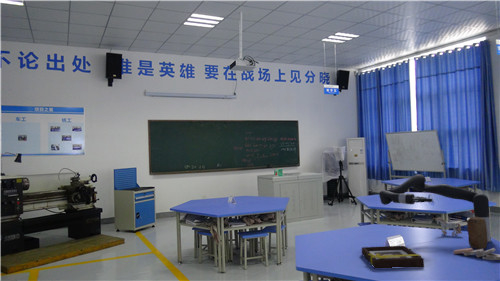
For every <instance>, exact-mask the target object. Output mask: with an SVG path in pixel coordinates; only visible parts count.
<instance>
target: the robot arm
mask: <svg viewBox="0 0 500 281" xmlns="http://www.w3.org/2000/svg"><path fill="white" fill-rule="evenodd" d="M411 188H412V189H414V190H416V191H422V192H427V193H431V194H434V195H438V196H443V197H445V198H449V199H452V200H462V201H466V202H470V203H472V205H473V217H480V218H483V219H485V221H486V228H487V240H488V241H487V242H488V243H490V242H492V233H491V220H490V219H491V218H490V215H491V214H490V204H489V203H490V201H489V198H488V196H487V195H486V194H484V193H483V192H482V193H481V192H475V191H472V190H471V191H470V190H466V189H463V188H460V187H457V186H454V185H450V184H447V183H441V184H428V183H426V177H425V176H424V175H423V174H419V173H418V174H415V175H413V176H412V177H410V178H408V179H407V180H406V181H404V182H402V183H401V184H400V185H397V186H395V187H394V188H393V187H392V188H391V189H389V190H381V191H379V193H378V196H379V199H380V202H381V204H382V205H384V206H385V205H389V204H391V203H394V204H403V205H415V203H432V202H433V198H427V197H425V196H418V195H417V196H415V194H414V193H407V192H408V191H409V189H411Z"/></svg>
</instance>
